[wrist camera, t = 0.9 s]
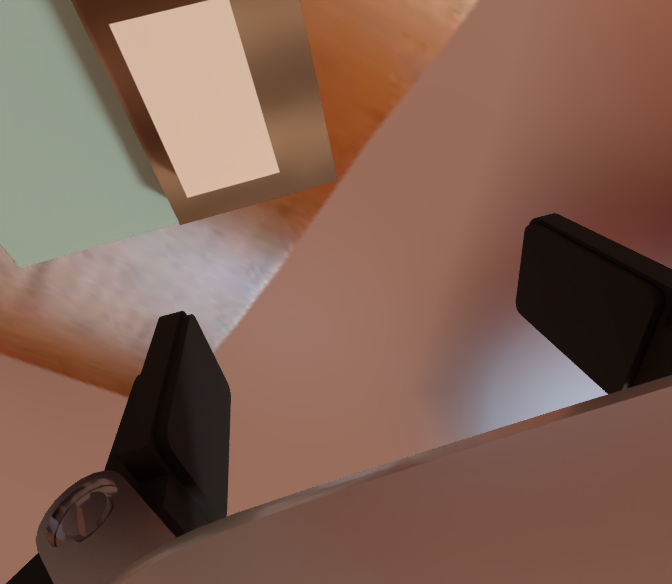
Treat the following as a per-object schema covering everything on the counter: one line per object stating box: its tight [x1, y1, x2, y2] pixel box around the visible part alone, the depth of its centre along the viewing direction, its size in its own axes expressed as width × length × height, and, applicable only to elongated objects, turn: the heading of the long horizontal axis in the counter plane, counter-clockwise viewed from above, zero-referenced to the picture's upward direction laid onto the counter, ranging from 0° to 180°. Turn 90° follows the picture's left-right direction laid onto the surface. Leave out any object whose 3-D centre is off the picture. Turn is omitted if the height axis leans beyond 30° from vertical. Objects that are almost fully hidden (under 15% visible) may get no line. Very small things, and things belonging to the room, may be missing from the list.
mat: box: [0, 0, 179, 268], centre depth 26 cm, size 16×14×1 cm
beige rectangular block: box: [109, 0, 280, 198], centre depth 22 cm, size 9×6×3 cm, turn 12°
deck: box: [71, 0, 337, 225], centre depth 25 cm, size 14×12×4 cm
